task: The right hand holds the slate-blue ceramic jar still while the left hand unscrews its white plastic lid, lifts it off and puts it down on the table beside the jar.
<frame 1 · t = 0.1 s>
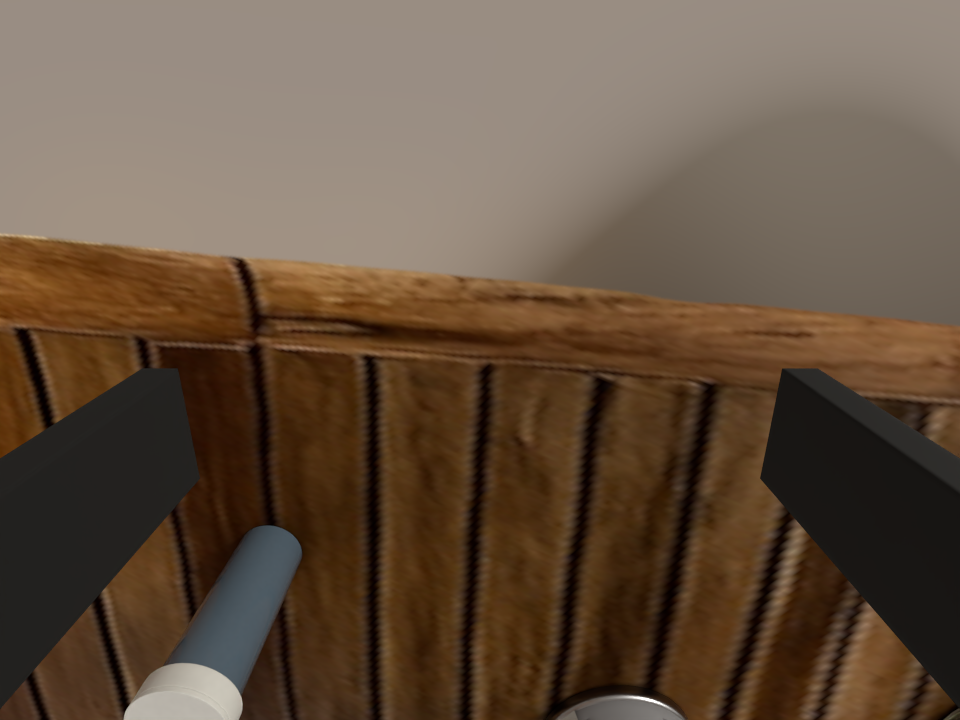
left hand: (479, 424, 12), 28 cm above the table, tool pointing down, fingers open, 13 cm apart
jar: (271, 550, 48), on the table
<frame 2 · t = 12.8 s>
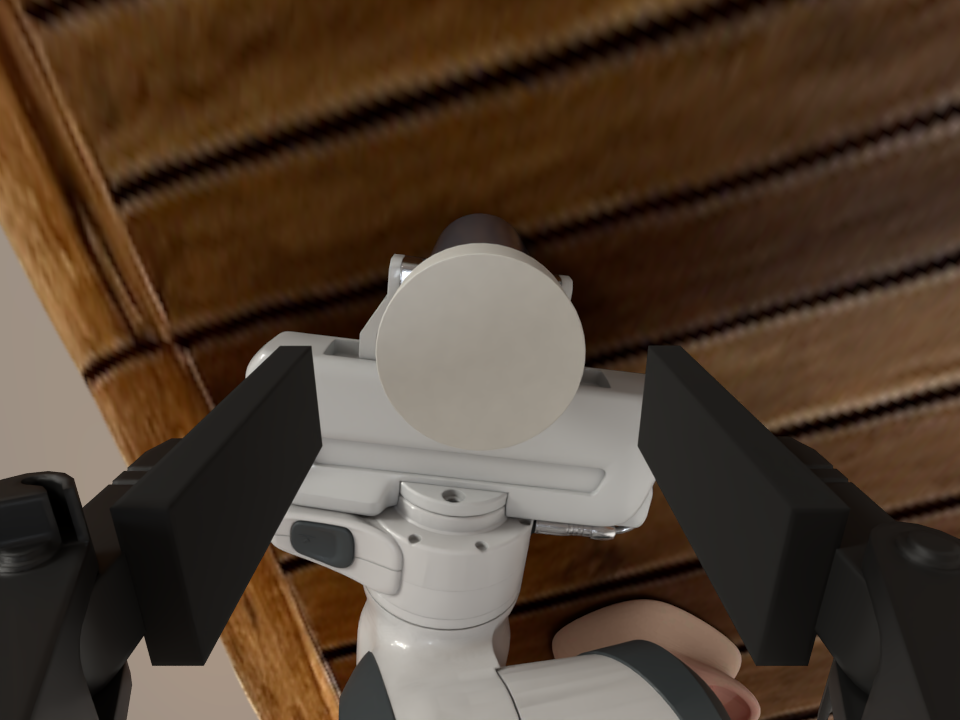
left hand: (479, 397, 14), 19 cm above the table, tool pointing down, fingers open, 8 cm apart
lid: (480, 354, 17), point 15 cm above the table, screwed on, not yet turned
jar: (479, 261, 31), on the table, touching right hand
anatomical model: (641, 657, 41), on the table
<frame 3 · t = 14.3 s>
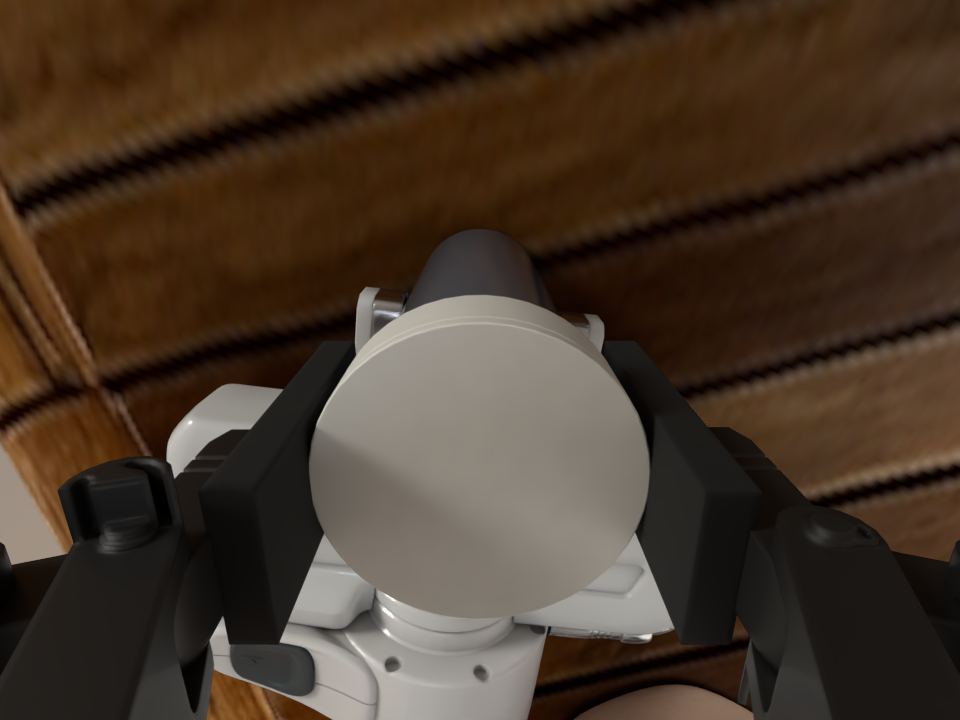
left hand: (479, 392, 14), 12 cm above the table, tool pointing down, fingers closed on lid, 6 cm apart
lid: (479, 476, 10), point 15 cm above the table, screwed on, not yet turned, touching left hand
jar: (479, 288, 25), on the table, touching right hand
when the left hand's fingers open (12 cm above the table, at t = 15.8 s): lid stays where it is, point 16 cm above the table.
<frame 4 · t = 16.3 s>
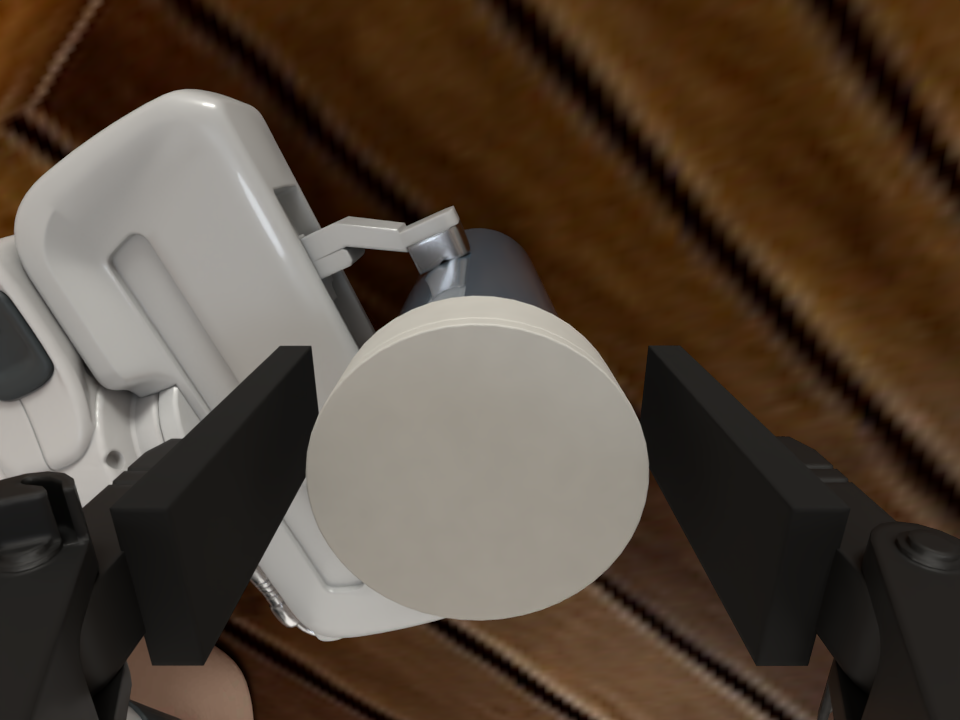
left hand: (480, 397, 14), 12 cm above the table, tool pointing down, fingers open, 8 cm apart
right hand: (501, 316, 19), fingers closed on jar, 5 cm apart
lid: (477, 477, 10), point 16 cm above the table, turned 93° so far, risen 0.3 cm, still on its thread
jar: (478, 287, 25), on the table, touching right hand
anatomical model: (165, 697, 34), on the table
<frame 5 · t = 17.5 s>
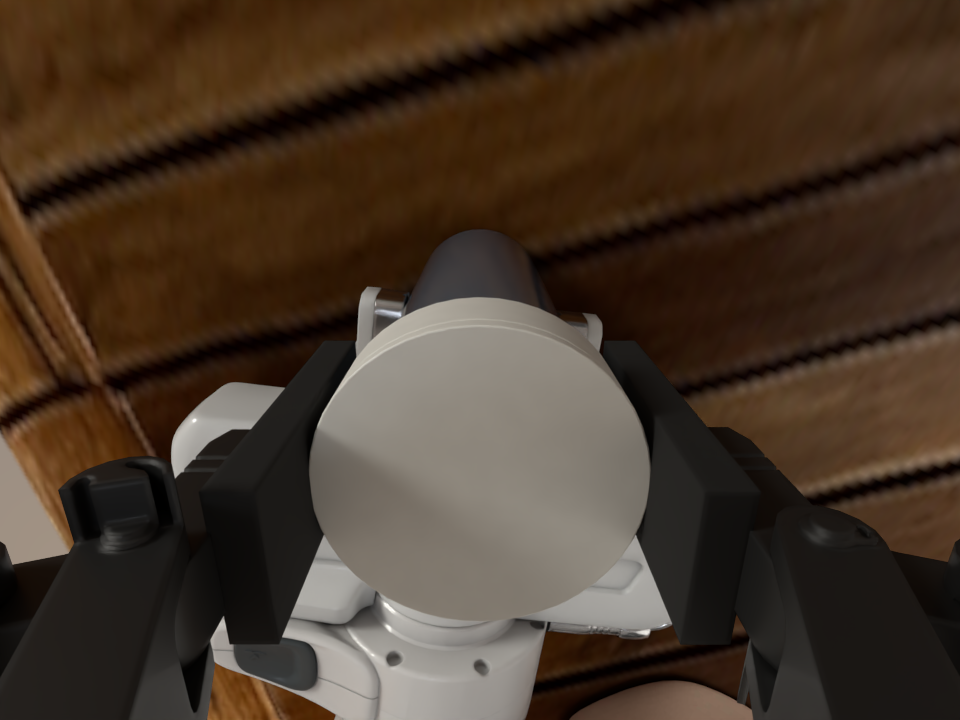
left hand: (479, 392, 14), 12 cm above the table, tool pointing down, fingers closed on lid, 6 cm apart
lid: (479, 478, 10), point 16 cm above the table, turned 93° so far, risen 0.3 cm, still on its thread, touching left hand
jar: (479, 288, 25), on the table, touching right hand
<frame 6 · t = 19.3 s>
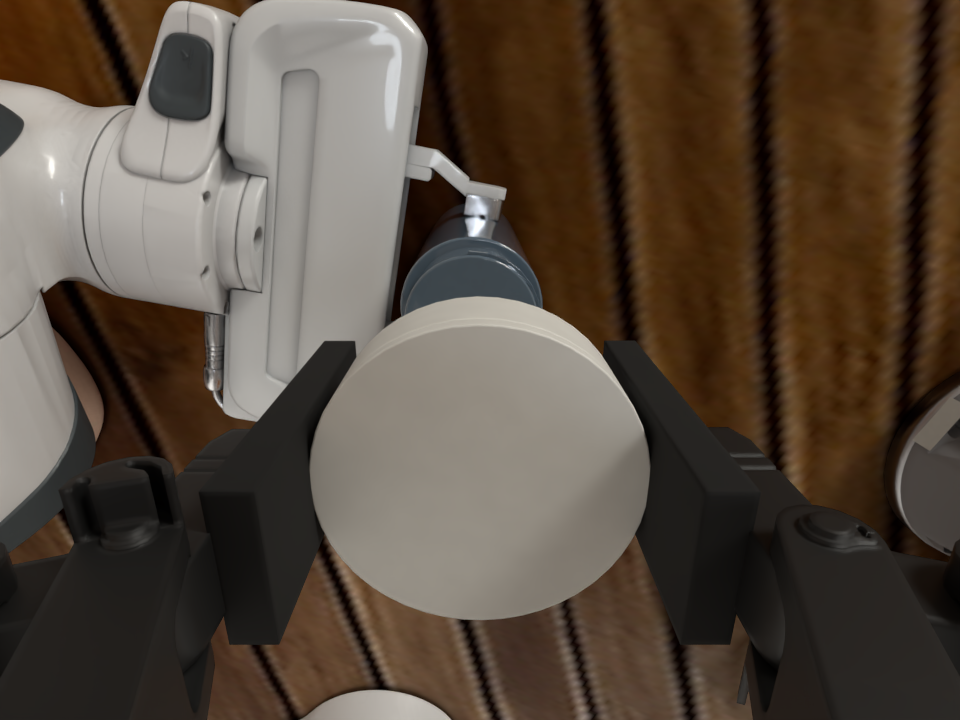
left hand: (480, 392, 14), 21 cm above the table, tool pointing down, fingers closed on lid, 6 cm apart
right hand: (490, 271, 28), fingers closed on jar, 5 cm apart
lid: (479, 477, 10), point 25 cm above the table, off its thread, touching left hand
jar: (472, 248, 33), on the table, touching right hand
anatomical model: (17, 404, 37), on the table
when the left hand's fingers open (0 cm above the table, at t = 25.1 s): lid drops 2 cm, point 2 cm above the table.
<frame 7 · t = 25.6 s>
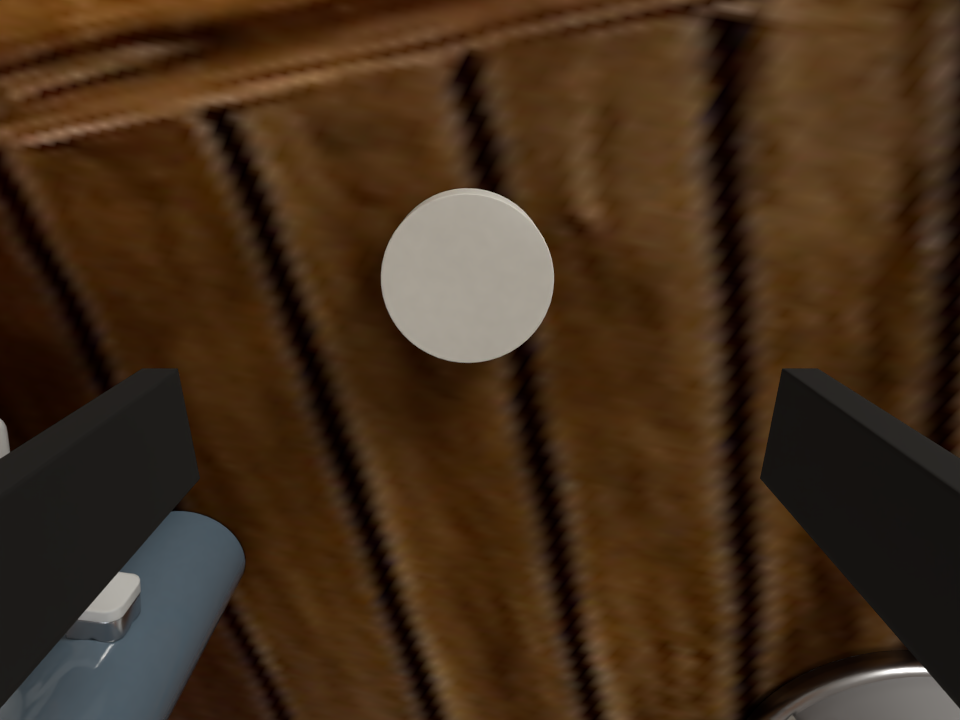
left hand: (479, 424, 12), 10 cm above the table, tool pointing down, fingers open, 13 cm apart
lid: (467, 281, 20), point 2 cm above the table, off its thread
jar: (189, 555, 27), on the table, touching right hand
when the right hand's fingers open (6 cm above the table, at t = 25.8 s): jar stays where it is, on the table.
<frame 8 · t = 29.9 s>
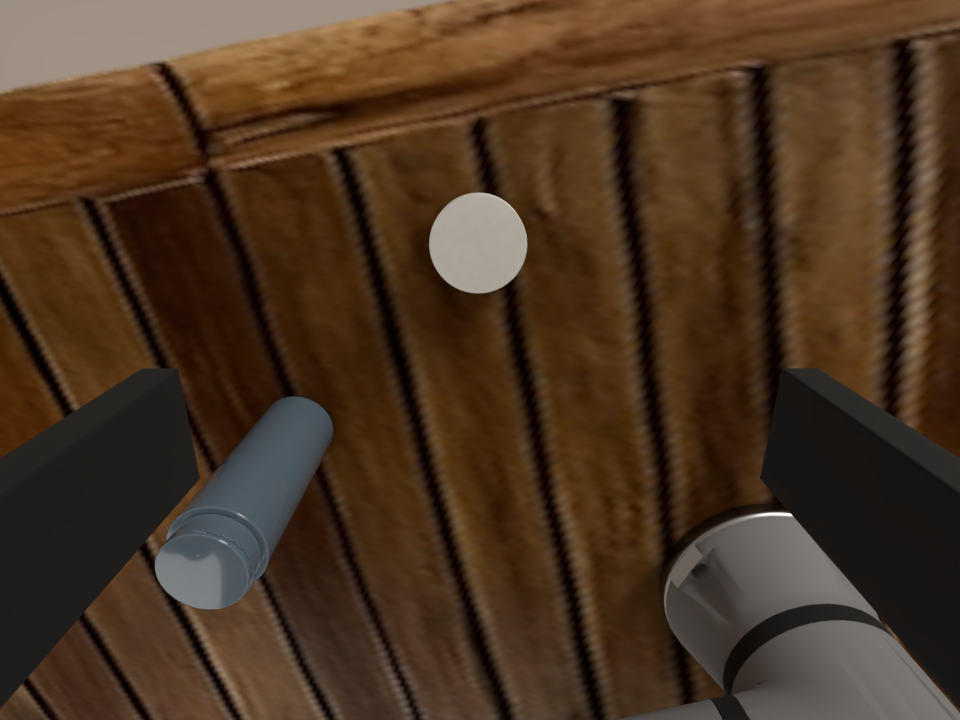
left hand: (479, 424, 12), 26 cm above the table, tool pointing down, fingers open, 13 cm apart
lid: (478, 244, 35), point 2 cm above the table, off its thread
jar: (298, 428, 42), on the table
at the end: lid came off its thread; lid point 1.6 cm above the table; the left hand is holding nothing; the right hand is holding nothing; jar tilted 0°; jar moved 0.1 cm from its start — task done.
